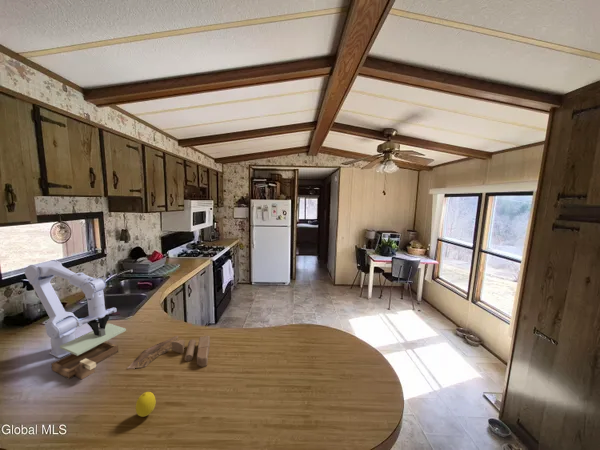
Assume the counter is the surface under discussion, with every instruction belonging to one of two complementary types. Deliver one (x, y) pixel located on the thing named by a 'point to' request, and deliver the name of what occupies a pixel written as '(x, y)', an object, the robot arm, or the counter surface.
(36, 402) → the counter surface
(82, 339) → the lid
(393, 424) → the counter surface
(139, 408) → the lemon
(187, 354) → the wooden block set
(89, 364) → the key
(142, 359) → the wooden fragment
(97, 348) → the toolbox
